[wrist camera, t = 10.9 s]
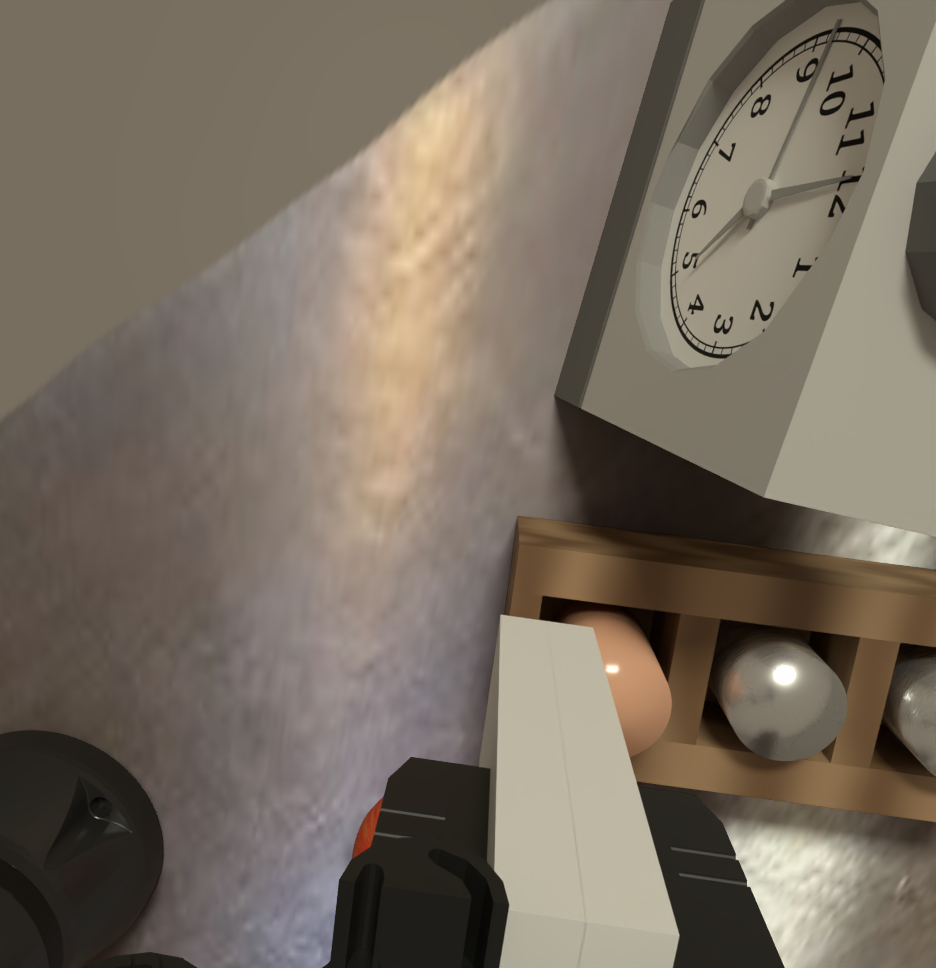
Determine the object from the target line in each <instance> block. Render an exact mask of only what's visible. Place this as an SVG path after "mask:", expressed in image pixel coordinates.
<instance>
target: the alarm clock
mask: <svg viewBox="0 0 936 968" xmlns="http://www.w3.org/2000/svg"><path fill="white" fill-rule="evenodd" d="M554 396H556V397H558V398H560V399H563V400H565V401H567V402H569V403H571V404H573V405H575V406H577V407H579V408H581V409H583V410H585V411H587V412H589V413H591V414H593V415H595V416H597V417H600V418H602V419H604V420H606V421H608V422H610V423H612V424H614V425H616V426H618V427H620V428H622V429H624V430H626V431H628V432H630V433H632V434H634V435H636V436H639V437H641V438H643V439H645V440H647V441H649V442H651V443H653V444H655V445H657V446H659V447H661V448H663V449H665V450H667V451H669V452H671V453H673V454H676V455H678V456H680V457H682V458H684V459H686V460H688V461H690V462H692V463H694V464H696V465H698V466H700V467H702V468H704V469H706V470H708V471H710V472H713V473H715V474H717V475H719V476H721V477H723V478H725V479H727V480H729V481H731V482H733V483H735V484H737V485H739V486H741V487H743V488H745V489H747V490H750V491H752V492H754V493H756V494H758V495H760V496H762V497H764V498H769V499H773V500H777V501H782V502H786V503H790V504H795V505H799V506H803V507H808V508H812V509H817V510H821V511H825V512H830V513H834V514H838V515H843V516H847V517H851V518H856V519H860V520H865V521H869V522H873V523H878V524H882V525H886V526H891V527H895V528H900V529H904V530H908V531H913V532H917V533H921V534H926V535H930V536H934V537H936V0H673V1H672V2H671V4H670V7H669V10H668V14H667V17H666V20H665V24H664V27H663V31H662V34H661V37H660V41H659V44H658V47H657V51H656V54H655V58H654V61H653V64H652V68H651V71H650V74H649V78H648V81H647V84H646V88H645V91H644V95H643V98H642V101H641V105H640V108H639V111H638V115H637V118H636V122H635V125H634V128H633V132H632V135H631V138H630V142H629V145H628V148H627V152H626V155H625V159H624V162H623V165H622V169H621V172H620V175H619V179H618V182H617V186H616V189H615V192H614V196H613V199H612V202H611V206H610V209H609V212H608V216H607V219H606V223H605V226H604V229H603V233H602V236H601V239H600V243H599V246H598V250H597V253H596V256H595V260H594V263H593V266H592V270H591V273H590V276H589V280H588V283H587V287H586V290H585V293H584V297H583V300H582V303H581V307H580V310H579V314H578V317H577V320H576V324H575V327H574V330H573V334H572V337H571V340H570V344H569V347H568V351H567V354H566V357H565V361H564V364H563V367H562V371H561V374H560V378H559V381H558V384H557V388H556V391H555V394H554Z"/></svg>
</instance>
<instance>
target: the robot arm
mask: <svg viewBox="0 0 936 968" xmlns="http://www.w3.org/2000/svg"><path fill="white" fill-rule="evenodd" d="M162 860H163V841H162V834H161V829H160V825H159V821H158V818H157V815H156V813H155V810H154V808H153V806H152V804H151V802H150V800H149V798H148V796H147V795H146V793H145V792H144V790H143V789H142V787H141V786H140V784H139V783H138V782H137V781H136V779H135V778H134V777H133V776H132V775H131V774H130V773H129V772H128V771H127V770H126V769H125V768H124V767H123V766H122V765H121V764H120V763H118V762H117V761H116V760H115V759H113V758H112V757H111V756H109V755H108V754H106V753H105V752H103V751H102V750H100V749H98V748H96V747H94V746H93V745H91V744H88V743H86V742H84V741H82V740H79V739H76V738H74V737H70V736H67V735H63V734H59V733H54V732H48V731H34V730H28V731H15V732H9V733H4V734H0V968H82V967H83V966H84V965H86V964H87V963H88V962H89V961H90V960H92V959H93V958H94V957H95V956H97V955H98V954H99V953H101V952H102V951H104V950H105V949H107V948H108V947H110V946H111V945H113V944H114V943H115V942H116V941H117V940H119V939H120V938H121V937H122V936H123V935H124V934H125V932H126V931H127V930H128V929H129V928H130V927H131V925H132V924H133V923H134V921H135V920H136V918H137V917H138V915H139V914H140V912H141V911H142V909H143V907H144V906H145V904H146V903H147V901H148V899H149V898H150V896H151V894H152V893H153V891H154V889H155V886H156V884H157V881H158V879H159V875H160V872H161V867H162ZM87 968H197V967H195V966H194V965H192V964H190V963H189V962H187V961H186V960H184V959H183V958H179V957H174V956H168V955H163V954H158V953H152V952H147V953H139V954H130V955H122V956H114V957H112V958H109V959H107V960H104V961H102V962H99V963H97V964H94V965H92V966H89V967H87ZM323 968H784V965H783V963H782V961H781V958H780V956H779V954H778V951H777V949H776V947H775V944H774V942H773V940H772V937H771V935H770V933H769V930H768V928H767V926H766V923H765V921H764V919H763V916H762V914H761V912H760V909H759V907H758V905H757V902H756V900H755V898H754V895H753V893H752V891H751V888H750V887H747V879H746V877H745V874H744V872H743V870H742V867H741V865H740V863H739V860H736V853H735V851H734V849H733V846H732V844H731V842H730V839H729V837H728V835H727V832H726V830H725V828H724V825H723V823H722V822H721V821H720V820H719V819H718V818H717V817H716V816H715V815H714V814H713V813H712V812H711V811H710V810H709V809H708V808H707V807H706V806H705V805H704V804H703V803H702V802H701V801H700V800H699V799H698V798H697V797H696V796H695V795H692V794H685V793H678V792H671V791H664V790H657V789H650V788H643V787H638V786H637V782H636V779H635V775H634V772H633V768H632V764H631V761H630V757H629V754H628V750H627V747H626V743H625V739H624V736H623V732H622V729H621V725H620V722H619V718H618V714H617V711H616V707H615V704H614V700H613V697H612V693H611V689H610V686H609V682H608V679H607V675H606V672H605V668H604V664H603V661H602V657H601V654H600V650H599V647H598V643H597V639H596V636H595V632H594V629H593V628H592V627H585V626H578V625H571V624H564V623H557V622H550V621H542V620H535V619H528V618H521V617H514V616H507V615H500V622H499V629H498V636H497V643H496V649H495V656H494V663H493V670H492V677H491V684H490V691H489V697H488V704H487V711H486V718H485V725H484V732H483V739H482V746H481V752H480V759H479V766H478V767H477V766H470V765H463V764H456V763H449V762H442V761H435V760H428V759H421V758H414V757H411V758H410V759H409V760H407V761H406V762H405V763H404V764H403V765H402V766H401V767H400V768H399V769H398V770H397V771H396V772H395V773H393V774H392V775H391V776H390V777H389V778H388V782H387V786H386V790H385V794H384V798H383V801H382V805H381V811H380V813H379V817H378V821H377V824H376V828H375V834H374V836H373V840H372V844H371V847H369V848H368V849H366V850H365V851H363V852H362V853H360V854H359V855H357V856H356V857H354V858H353V859H352V860H351V861H350V863H349V865H348V866H347V868H346V870H345V871H344V873H343V874H342V876H341V878H340V879H339V886H338V896H337V905H336V914H335V923H334V932H333V941H332V950H331V959H330V962H329V963H328V964H327V965H325V966H324V967H323Z"/></svg>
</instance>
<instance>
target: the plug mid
mask: <svg viewBox="0 0 936 968" xmlns="http://www.w3.org/2000/svg"><path fill="white" fill-rule="evenodd" d="M708 684H709V686H710V688H711V690H712V692H713V693H714V695H715V697H716V699H717V700H718V702H719V704H720V706H721V708H722V709H723V711H724V713H725V715H726V717H727V718H728V720H729V722H730V724H731V725H732V727H733V729H734V731H735V733H736V734H737V736H738V737H739V739H740V740H741V741H742V743H743V744H744V745H745V746H746V747H748V748H749V749H750V750H751V751H753V752H754V753H756V754H758V755H760V756H762V757H765V758H768V759H771V760H777V761H795V760H800V759H804V758H807V757H810V756H812V755H815V754H816V753H818V752H820V751H821V750H823V749H824V748H826V747H827V746H828V745H829V744H830V743H831V742H832V741H833V740H834V739H835V738H836V737H837V735H838V734H839V732H840V731H841V729H842V727H843V724H844V722H845V719H846V714H847V696H846V692H845V689H844V687H843V684H842V682H841V681H840V679H839V678H838V676H837V675H836V674H835V673H834V672H833V671H832V669H831V668H830V667H829V666H828V665H827V664H826V663H825V662H824V661H823V660H822V659H821V658H820V657H819V656H818V655H817V654H816V652H815V651H814V650H813V649H812V648H811V647H810V646H809V645H808V644H807V643H806V642H805V641H804V640H803V639H802V638H801V637H800V635H799V634H798V633H797V632H796V631H795V630H794V629H793V628H786V627H778V626H771V625H763V624H756V623H748V622H740V621H733V620H725V619H721V620H720V625H719V630H718V635H717V640H716V645H715V650H714V655H713V660H712V665H711V670H710V675H709V681H708Z"/></svg>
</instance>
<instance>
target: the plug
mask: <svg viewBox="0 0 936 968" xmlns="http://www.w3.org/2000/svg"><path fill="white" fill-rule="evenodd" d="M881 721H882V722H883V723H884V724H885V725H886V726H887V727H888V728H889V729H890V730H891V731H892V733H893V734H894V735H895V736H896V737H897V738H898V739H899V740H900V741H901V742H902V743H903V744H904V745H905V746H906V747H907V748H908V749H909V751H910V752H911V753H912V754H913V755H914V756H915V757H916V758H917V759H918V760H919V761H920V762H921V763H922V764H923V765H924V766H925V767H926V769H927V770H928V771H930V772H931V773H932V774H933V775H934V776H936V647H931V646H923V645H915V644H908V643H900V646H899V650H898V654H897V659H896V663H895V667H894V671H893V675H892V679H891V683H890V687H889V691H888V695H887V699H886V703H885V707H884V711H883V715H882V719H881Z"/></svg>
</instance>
